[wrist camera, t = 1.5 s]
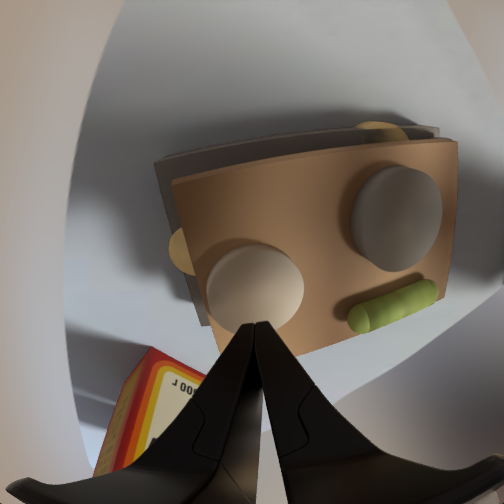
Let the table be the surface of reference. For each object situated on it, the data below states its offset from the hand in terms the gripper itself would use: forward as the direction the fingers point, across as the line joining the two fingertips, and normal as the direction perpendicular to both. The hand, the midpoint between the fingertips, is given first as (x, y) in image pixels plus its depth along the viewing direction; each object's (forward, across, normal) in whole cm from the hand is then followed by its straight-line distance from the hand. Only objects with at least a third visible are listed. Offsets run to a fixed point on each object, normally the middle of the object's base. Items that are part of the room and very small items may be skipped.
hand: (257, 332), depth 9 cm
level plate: (+5, -4, 0) cm, 7 cm away
